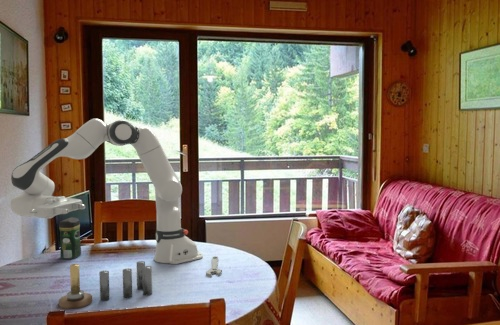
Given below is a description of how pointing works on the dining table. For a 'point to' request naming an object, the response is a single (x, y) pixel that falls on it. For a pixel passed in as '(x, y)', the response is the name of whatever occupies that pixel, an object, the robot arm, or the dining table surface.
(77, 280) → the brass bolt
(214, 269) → the adjustable wrench
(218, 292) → the dining table surface
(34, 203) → the robot arm
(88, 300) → the walnut plate
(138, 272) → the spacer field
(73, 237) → the coffee jar
